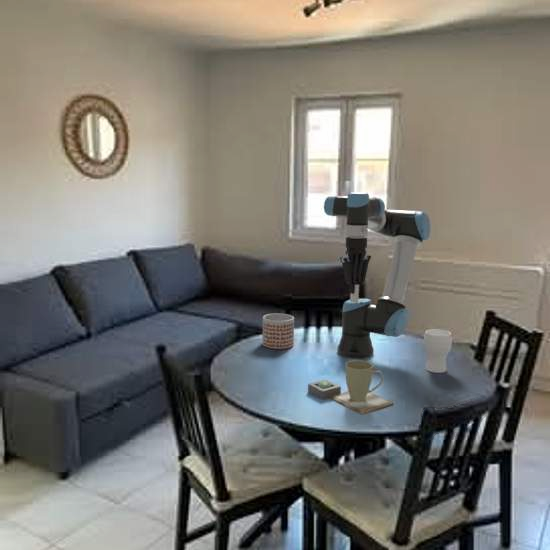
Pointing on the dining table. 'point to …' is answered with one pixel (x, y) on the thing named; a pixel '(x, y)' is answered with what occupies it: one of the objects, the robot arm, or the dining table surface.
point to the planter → (278, 331)
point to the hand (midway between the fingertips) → (354, 301)
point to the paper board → (362, 402)
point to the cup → (437, 349)
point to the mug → (360, 379)
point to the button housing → (323, 390)
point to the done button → (324, 384)
